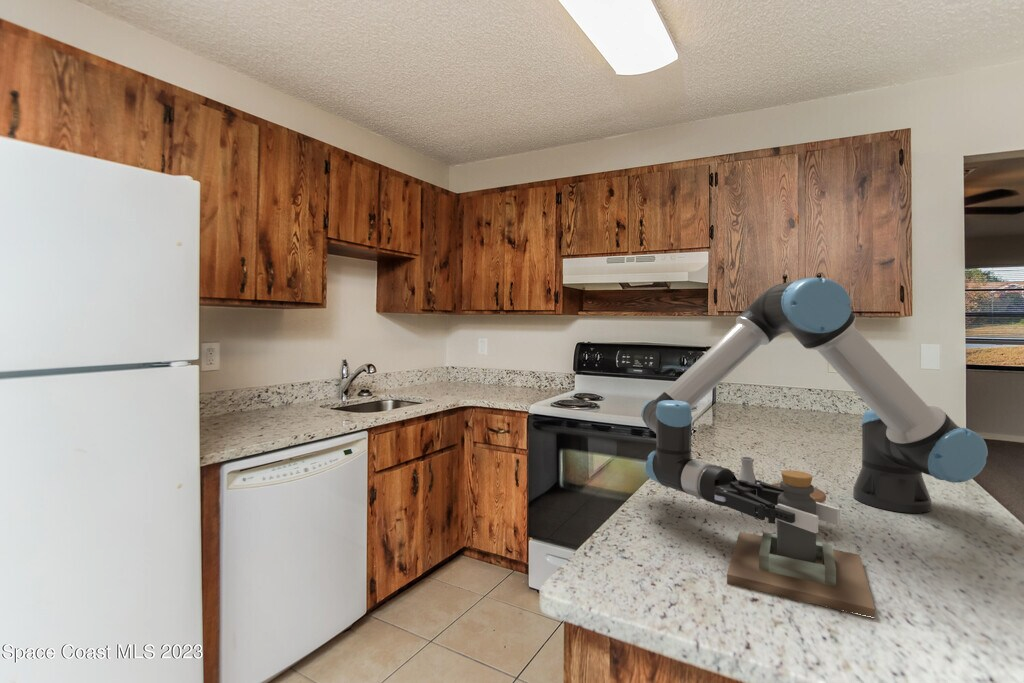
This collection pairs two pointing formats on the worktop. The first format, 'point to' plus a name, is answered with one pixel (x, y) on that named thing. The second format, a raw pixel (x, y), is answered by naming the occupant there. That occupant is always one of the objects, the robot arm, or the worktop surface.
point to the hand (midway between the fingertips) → (827, 520)
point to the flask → (747, 470)
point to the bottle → (797, 496)
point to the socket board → (801, 574)
